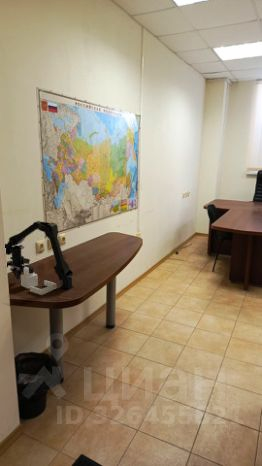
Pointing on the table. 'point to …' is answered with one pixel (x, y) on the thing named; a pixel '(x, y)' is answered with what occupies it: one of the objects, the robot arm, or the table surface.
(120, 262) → the table surface
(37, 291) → the holder
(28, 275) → the white stepped block
